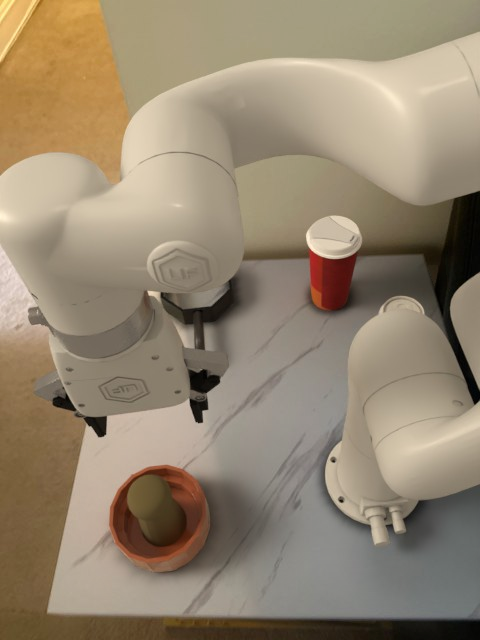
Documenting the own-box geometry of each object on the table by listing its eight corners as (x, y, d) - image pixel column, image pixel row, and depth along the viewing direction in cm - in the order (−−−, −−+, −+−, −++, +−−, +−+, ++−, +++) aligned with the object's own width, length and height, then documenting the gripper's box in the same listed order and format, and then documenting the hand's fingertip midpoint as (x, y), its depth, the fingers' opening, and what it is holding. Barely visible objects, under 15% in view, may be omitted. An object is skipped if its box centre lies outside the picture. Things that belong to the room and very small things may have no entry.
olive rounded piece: (163, 490, 76) (146, 456, 67) (196, 518, 73) (183, 487, 64) (131, 526, 73) (109, 496, 64) (164, 557, 71) (146, 529, 62)
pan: (240, 365, 88) (239, 353, 85) (164, 374, 88) (160, 362, 85) (230, 266, 101) (228, 252, 98) (164, 273, 101) (160, 260, 98)
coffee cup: (362, 289, 95) (372, 223, 83) (340, 323, 91) (348, 259, 79) (317, 272, 98) (321, 206, 87) (295, 304, 94) (295, 239, 83)
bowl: (212, 567, 70) (208, 556, 66) (116, 578, 70) (106, 567, 66) (207, 475, 77) (203, 460, 73) (121, 484, 77) (112, 470, 73)
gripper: (-21, 368, 40) (62, 464, 54) (218, 334, 40) (241, 439, 54) (-4, 289, 45) (68, 396, 58) (210, 258, 45) (233, 373, 58)
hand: (151, 417), depth 56 cm, fingers open, 9 cm apart
